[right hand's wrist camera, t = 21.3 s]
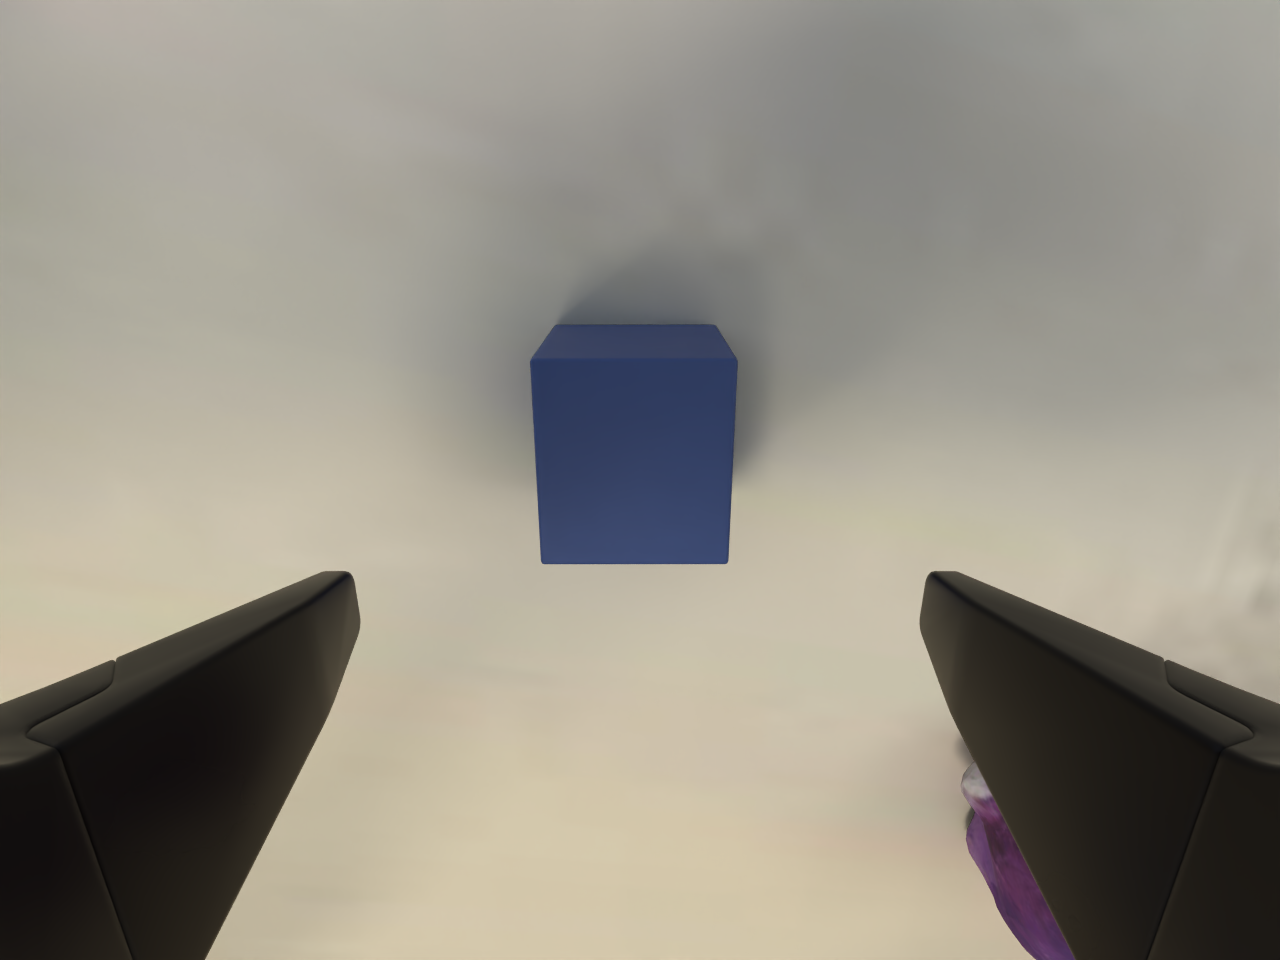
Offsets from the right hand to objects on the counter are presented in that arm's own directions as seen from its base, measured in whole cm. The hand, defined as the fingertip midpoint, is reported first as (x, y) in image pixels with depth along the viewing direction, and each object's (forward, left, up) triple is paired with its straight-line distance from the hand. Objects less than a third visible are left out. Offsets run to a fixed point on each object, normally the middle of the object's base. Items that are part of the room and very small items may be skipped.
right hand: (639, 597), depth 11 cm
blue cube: (0, 0, -11) cm, 11 cm away
